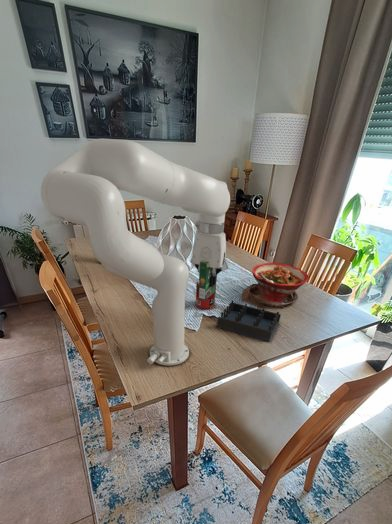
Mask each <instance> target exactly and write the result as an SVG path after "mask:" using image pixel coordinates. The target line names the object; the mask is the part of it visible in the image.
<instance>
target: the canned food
mask: <svg viewBox="0 0 392 524" xmlns="http://www.w3.org/2000/svg"><path fill="white" fill-rule="evenodd" d="M195 287H196V289H195V306H196V307H197V309H200V310H207V311H208V310H212V309H213V308H214V307H215V305H216V304H215V303H216V292H217V283H216V284H215V292H214V293H213V294H212V295H211V296H210V297H208V298H207V299H206V300H202V299H199V278H197V279H196V285H195Z"/></svg>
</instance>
